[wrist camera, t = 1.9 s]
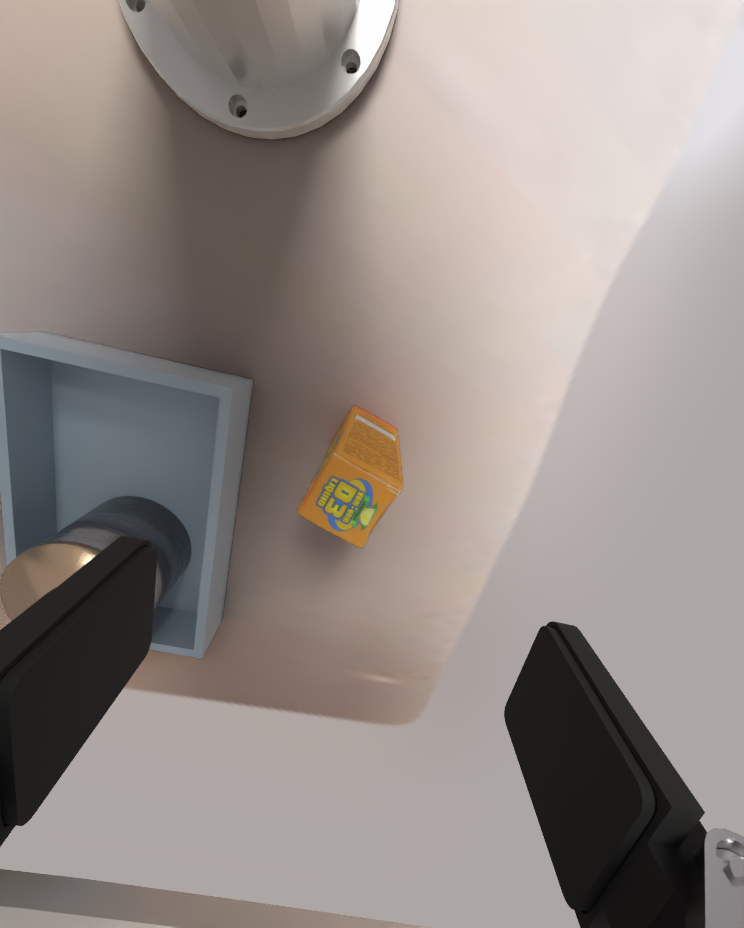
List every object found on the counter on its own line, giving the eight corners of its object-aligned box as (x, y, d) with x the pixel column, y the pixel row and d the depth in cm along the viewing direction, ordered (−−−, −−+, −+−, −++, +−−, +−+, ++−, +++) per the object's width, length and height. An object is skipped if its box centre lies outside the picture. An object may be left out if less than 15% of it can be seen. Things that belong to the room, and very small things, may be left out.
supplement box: (350, 399, 24) (335, 447, 15) (398, 428, 25) (413, 491, 15) (324, 444, 25) (293, 517, 16) (371, 471, 26) (369, 556, 16)
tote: (45, 332, 23) (-14, 333, 19) (253, 379, 24) (232, 389, 20) (55, 588, 29) (11, 625, 25) (222, 619, 29) (202, 658, 26)
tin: (83, 483, 25) (-6, 533, 19) (197, 507, 26) (144, 561, 20) (84, 577, 28) (5, 646, 22) (188, 596, 28) (139, 669, 22)
